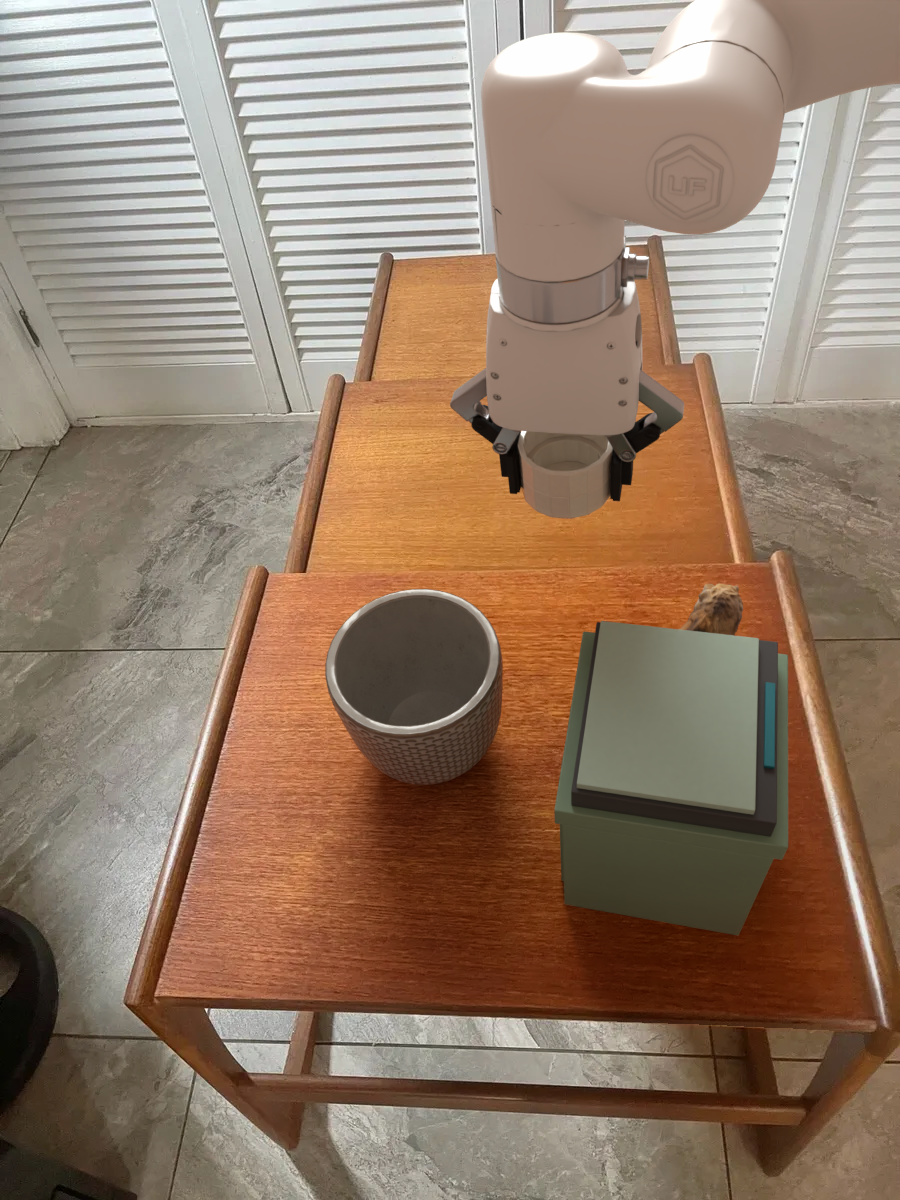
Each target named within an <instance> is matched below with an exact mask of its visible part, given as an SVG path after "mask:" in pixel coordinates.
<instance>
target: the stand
mask: <svg viewBox="0 0 900 1200" xmlns="http://www.w3.org/2000/svg"><path fill="white" fill-rule="evenodd" d="M594 637H595V632H593V631H583V632H582V636H581V642H580V647H579V654H578V661H577V667H576V673H575V679H574V685H573V691H572V698H571V703H570V710H569V717H568V722H567V728H566V735H565V741H564V746H563V747H564V748H563V753H562V761H561V766H560V772H559V779H558V785H557V792H556V797H555V803H554V809H553V810H554V812H553V813H554V814H553V815H554V824H556V825H559V844H560V845H559V846H560V847H559V848H560V849H559V850H560V880H561V881H562V882H563V892H564V893H563V899H564V900H563V903H564V905H567V906H572V907H577V908H583V909H588V910H592V911H593V910H594V911H599V912H605V913H611V914H616V915H622V916H628V917H632V918H639V919H644V920H649V921H655V922H661V923H666V924H671V925H677V926H683V927H688V928H693V929H698V930H705V931H711V932H716V933H722V934H727V935H732V936H740V934H741V931H742V929H743V927H744V925H745V922H746V920H747V918H748V916H749V913H750V912H751V909H752V907H753V905H754V903H755V901H756V898H757V896H758V894H759V892H760V890H761V888H762V885H763V884H764V881H765V878H766V877H767V875H768V872H769V870H770V867H772V864H773V861H774V860H779V861H783V859H784V857H785V855H786V853H787V851H788V849H789V655H788V654H786V653H785V654H784V653H778V715H777V824H776V826H775V828H774V831H773V833H772V835H771V837H769V836H762V835H756V834H749V833H743V832H737V831H730V830H724V829H717V828H711V827H705V826H698V825H692V824H685V823H679V822H673V821H666V820H660V819H653V818H647V817H641V816H634V815H628V814H621V813H615V812H609V811H602V810H596V809H589V808H583V807H576V806H572V805H571V789H572V783H573V776H574V769H575V763H576V756H577V750H578V743H579V736H580V730H581V723H582V717H583V710H584V703H585V697H586V690H587V683H588V677H589V670H590V664H591V657H592V650H593V644H594Z"/></svg>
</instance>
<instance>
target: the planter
mask: <svg viewBox="0 0 900 1200" xmlns="http://www.w3.org/2000/svg"><path fill="white" fill-rule="evenodd" d="M342 623H343V624H342V625H340V627H339V629H338V630H337V631H336V633H335V635H334V637H333V638H332V640H331V642H330V645H329V647H328V649H327V654H326V659H325V665H324V668H325V669H324V670H325V671H324V675H325V676H324V677H325V682H326V687H327V692H328V695H329V698H330V700H331V703H332V705H333V707H334V709H335V712H336V713H337V715H338V716H339V718H340V720H341V722H342V724H343V726H344V728H345V730H346V732H347V733H348V735H349V736H350V738H351V739H352V741H353V742H354V744H355V746H356V747H357V749H358V750H359V751H360V753H361V754H362V755H363V756H364V757H365V758H366V760H368V762H369V763H370V764H371V765H372V766H373V767H374V768H376V769H377V770H378V771H379V772H381V773H383V775H386V776H388V777H389V778H392V779H394V780H396V781H399V782H402V783H406V784H412V785H419V786H421V785H424V786H425V785H436V784H442V783H445V782H449V781H451V780H454V779H456V778H458V777H460V776H462V775H464V774H465V773H467V772H468V771H470V770H471V769H472V768H473V767H475V766H476V765H477V764H478V763H480V761H481V760H482V759H483V757H484V756H486V754H487V753H488V751H489V749H490V747H492V744H493V742H494V740H495V737H496V735H497V733H498V729H499V725H500V721H501V720H500V719H501V716H502V708H503V707H502V705H503V692H504V691H503V689H504V688H503V687H504V686H503V684H504V683H503V678H504V676H503V675H504V674H503V672H504V670H503V669H504V668H503V667H504V664H503V655H502V648H501V643H500V641H499V638H498V634H497V633H496V630H495V628H494V627H493V625H492V623H491V621H490V620H489V618H488V617H487V616H486V615H485V614H484V613H483V611H482V610H481V609H479V608H478V607H477V606H476V605H475V604H473V603H472V602H471V601H468V600H467V599H465V598H464V597H462V596H459V595H457V594H454V593H452V592H448V591H443V590H439V589H433V588H411V589H402V590H398V591H395V592H391V593H386V594H384V595H382V596H380V597H379V596H378V597H377V598H375V599H373V600H371V601H369V602H368V603H366V604H364V605H363V606H361V607H360V608H358V609H357V610H356V611H354V612H353V613H352V614H351V615H350V616H348V618H347V619H346V620H345V621H344V622H342Z"/></svg>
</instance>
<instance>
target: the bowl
mask: <svg viewBox="0 0 900 1200" xmlns="http://www.w3.org/2000/svg"><path fill="white" fill-rule="evenodd" d="M517 446H518V457H519V468H520V480H521V489H520V490H521V492H522V496H523V499H524V501H525V503H526V504H528V505H529V506H530V507H531V508H532V509H533V510H534V511H535V512H538V513H540V514H542V515H544V516H547V517H549V518H554V519H562V520H563V519H564V520H565V519H566V520H567V519H568V520H569V519H570V520H573V519H576V518H577V519H578V518H581V517H585V516H589V515H591V514H592V513H594V512H595V511H598V510H599V509H601V508H602V507H603V506H604V505H605V504H606V502H607V501H608V499H610V482H611V460H612V454H613V448H612V446H611V445H610V443H609V441H608V440H607V438H606V437H605V435H583V434H563V433H546V432H530V431H521V433H520V437H519V441H518V445H517Z"/></svg>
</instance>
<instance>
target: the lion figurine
mask: <svg viewBox="0 0 900 1200" xmlns="http://www.w3.org/2000/svg"><path fill="white" fill-rule="evenodd" d="M739 590H740V589H739V585H737V584H736V585H732V584H725V583H716V584H715V585H714V583H705V584H704V585H703V589H702V591H701V592H700V593H699V594H698V599H697V601H696V602H695V604H694V606H693V610H692V612H691V613H690V614H689V617H688V618H687V621H686V622H685V623H684V624H683V625H682V626H681V627H680V628H679V629H680V630H689V631H698V632H707V633H716V634H725V635H734V636H736V633H737V632H738V630H739V625H740V624H741V621H742V619H743V612H744V602H743V599H742V597H741V596H740V593H739Z"/></svg>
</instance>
